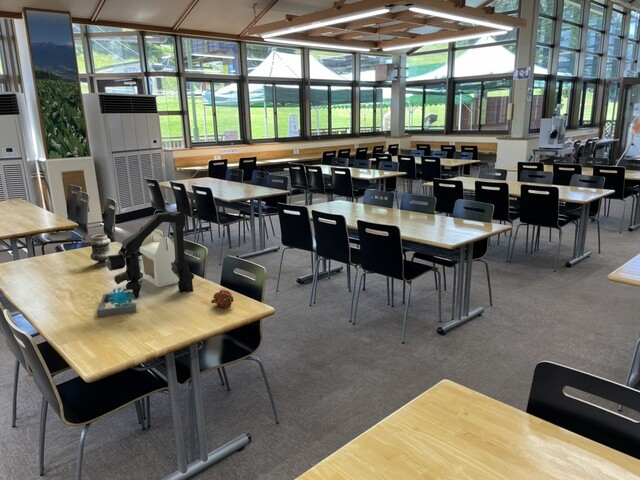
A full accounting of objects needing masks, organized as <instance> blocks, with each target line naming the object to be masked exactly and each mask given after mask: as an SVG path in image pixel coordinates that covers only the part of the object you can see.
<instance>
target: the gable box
mask: <svg viewBox="0 0 640 480" xmlns="http://www.w3.org/2000/svg"><path fill="white" fill-rule="evenodd" d="M139 250H140V252H141V253H142V254H143V255H142V256H139V257H141V258H140V259H141V265H142V271H141V272H142V273H143V279H144V280H146V281H147V282H149V283H151V284H153V285H154V286H156V287H158V288H162V287H166V286H169V285H174V283H175V284H178V281H179V277H177V275H175V274H174V273H173V271H172V270H171V269H172V265H171V262H174V260H175V249H174V241H172V240H171V238H169V237H168V236H165V231H164V230H162V229H160V228H159V229H158V227H157V228H156V229H155V230H154V231H153V232H152V233H151V234H150V235H149V236H148V237H147V238H145V240H144V241H143V243H142V245H141V247H140V249H139Z"/></svg>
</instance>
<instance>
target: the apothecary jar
mask: <svg viewBox="0 0 640 480" xmlns="http://www.w3.org/2000/svg"><path fill="white" fill-rule="evenodd" d="M110 244H111V239H110V238H108V235H107V234H106V233H105V234H104V233H101V234H94V235H91V237H90V240H89V241H88V245H90V246H91V254H90V255H89V256H90V259H91V260H92V261H95V262H96V263H94V264H93V267H96V268H100V267H101V268H102V267H103V268H104V267H108V266H107V259H108V256H109V255H113V253H112V251H110V250H111V249H110Z"/></svg>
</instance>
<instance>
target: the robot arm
mask: <svg viewBox="0 0 640 480" xmlns="http://www.w3.org/2000/svg"><path fill="white" fill-rule="evenodd" d="M186 221H187V220H186V215H185V214H184V213H182V212H180V211H179V212H178V211H175V210H174V211H172V212H162V213H160V212H157V213H155V215H154V216H153V217H152V218H151V219H150V220H149V221H148V222H147V223H145V225H143V226H142V227H141V228H140V229H139V230H138V231H136V233H134V234H131V235H130V236H128V237H127V238H125V239H124V240H123V241H122V242H121V247H120V249H119V250H118V252H117V254H112V255H109V256H108V259H107V260H106V261H107V266H106V267H107V268H108V270H109V272H112V271H116V270H121V269H124V268H126V269H125V271H123V272H121V273H119V274H116V275H114V276H113V280H114V283H116V285H119V284H121V283H123V282H125V281H126V282H127V283H126V285H125V289H126V291H133V294H134V296H135V298H134V299H136V300H138V298H140V297H139V295H140V293H141V289H142V287H143V280H142V279H144V278H143V273H142V271H140V265H139V257H140V256H142V255H143V254H142V253H141V252H140V251H138V249H139V248H140V247H141V245H142V243H143V241H144V240H145V238H147V237H148V236H149V235H150V234H151V233H152V232H153V231H154V230H155V229H156V228H157V229H158V227H159V226H160V225H161V224H162V223H170V224H169V225H170V227H171V228H172V233H173V243H174V249H175V260H174V262H171V265H172V269H171V270H172V271H173V273H174V274H175V275H177V277H179V281H178V283H177V285H178V286H177V287H178V291H179V293H187V292H194V286H193V280H194V278H195V274H194V273H192V272H191V271H190V269H189V265H188V263H187V262H188V261H187V260H186V256H185V255H186V254H185V239H184V237H185V236H184V229H185V227H186ZM139 250H140V249H139ZM138 256H139V257H138Z"/></svg>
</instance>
